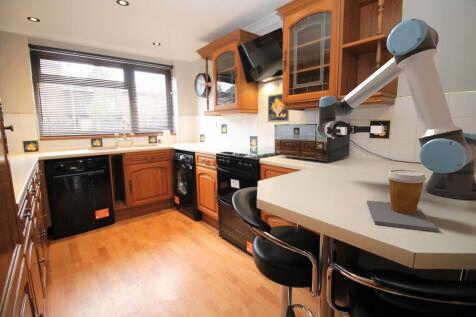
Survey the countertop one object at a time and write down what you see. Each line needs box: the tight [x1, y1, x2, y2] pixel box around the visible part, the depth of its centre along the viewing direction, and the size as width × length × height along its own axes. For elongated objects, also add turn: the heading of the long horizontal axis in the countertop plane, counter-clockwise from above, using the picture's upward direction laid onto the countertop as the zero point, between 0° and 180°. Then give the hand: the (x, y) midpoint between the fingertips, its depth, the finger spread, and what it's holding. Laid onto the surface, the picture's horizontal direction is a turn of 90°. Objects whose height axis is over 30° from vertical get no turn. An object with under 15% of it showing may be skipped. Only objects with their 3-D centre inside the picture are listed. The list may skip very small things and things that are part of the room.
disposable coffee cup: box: [387, 169, 427, 214], centre depth 72 cm, size 10×10×12 cm
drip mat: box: [366, 200, 438, 233], centre depth 71 cm, size 14×18×1 cm
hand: (364, 130), depth 84 cm, fingers open, 13 cm apart
